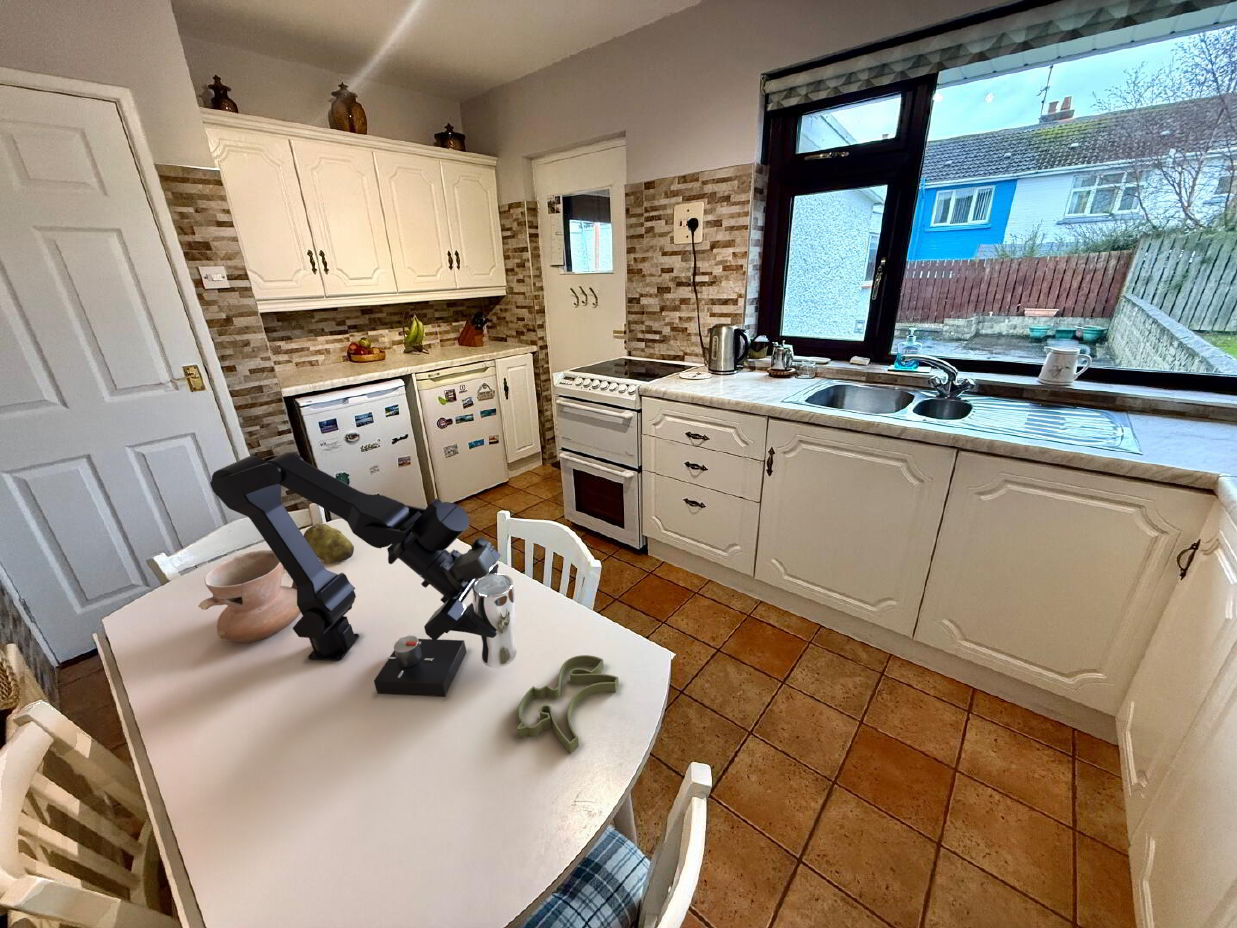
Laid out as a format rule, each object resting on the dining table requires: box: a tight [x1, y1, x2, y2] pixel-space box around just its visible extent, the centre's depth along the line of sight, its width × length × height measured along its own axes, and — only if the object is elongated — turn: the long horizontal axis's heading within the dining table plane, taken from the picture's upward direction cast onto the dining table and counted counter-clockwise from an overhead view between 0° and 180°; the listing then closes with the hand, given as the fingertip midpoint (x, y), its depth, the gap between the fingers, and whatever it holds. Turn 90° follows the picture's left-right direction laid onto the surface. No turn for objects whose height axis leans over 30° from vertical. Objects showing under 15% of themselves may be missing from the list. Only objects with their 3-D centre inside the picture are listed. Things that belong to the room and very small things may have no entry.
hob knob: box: [393, 635, 422, 668], centre depth 85 cm, size 4×4×4 cm
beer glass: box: [471, 572, 518, 669], centre depth 83 cm, size 7×7×15 cm
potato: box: [303, 523, 355, 563], centre depth 120 cm, size 8×13×8 cm, turn 49°
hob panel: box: [373, 638, 467, 698], centre depth 86 cm, size 12×10×3 cm
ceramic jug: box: [197, 549, 302, 644], centre depth 97 cm, size 18×14×14 cm
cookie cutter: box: [517, 654, 620, 754], centre depth 80 cm, size 18×12×2 cm, turn 149°
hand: (503, 621), depth 83 cm, fingers closed on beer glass, 7 cm apart
